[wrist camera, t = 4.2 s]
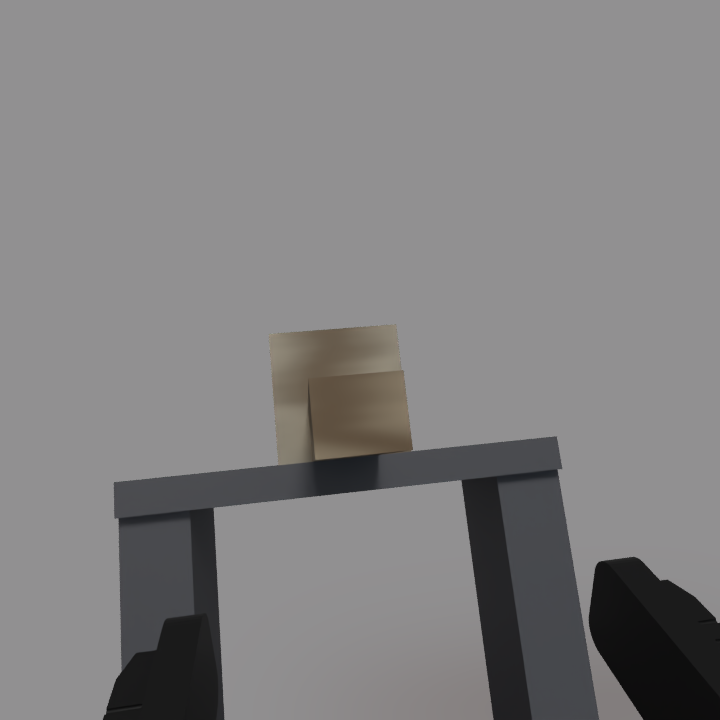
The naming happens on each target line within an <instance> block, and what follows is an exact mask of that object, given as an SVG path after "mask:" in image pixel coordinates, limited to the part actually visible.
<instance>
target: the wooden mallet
mask: <svg viewBox="0 0 720 720" xmlns="http://www.w3.org/2000/svg"><path fill="white" fill-rule="evenodd" d="M269 341H270V356H271V368H272V382H273V396H274V410H275V422H276V423H275V424H276V437H277V450H278V464H279V465H287V464H296V463H306V462H316V461H325V460H335V459H344V458H354V457H364V456H373V455H383V454H393V453H402V452H411V450H413V447H412V439H411V431H410V422H409V414H408V405H407V397H406V389H405V381H404V372H403V370H401V362H400V354H399V346H398V337H397V329H396V325H382V326H370V327H356V328H343V329H330V330H316V331H303V332H290V333H277V334H269Z"/></svg>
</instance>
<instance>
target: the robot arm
mask: <svg viewBox="0 0 720 720" xmlns="http://www.w3.org/2000/svg"><path fill="white" fill-rule="evenodd" d="M589 627H590V632H591V636H592V638H593V641H594V643H595V646H596V648H597V650H598V651H599V653H600V655H601V656H602V657H603V659H604V661H605V662H606V663H607V665H608V666H609V668H610V670H611V671H612V673H613V674H614V676H615V677H616V679H617V680H618V682H619V683H620V685H621V686H622V688H623V689H624V691H625V692H626V694H627V695H628V697H629V698H630V700H631V701H632V703H633V704H634V706H635V707H636V709H637V711H638V712H639V714H640V715H641V717H642V718H643V720H720V623H717V621H716V618H715V617H714V616H713V615H712V614H711V613H710V612H709V611H708V610H707V609H706V608H705V607H704V606H703V605H702V604H701V603H700V602H699V601H698V600H697V599H696V598H695V597H694V596H693V595H691V594H689V593H688V592H686V591H685V590H683V589H682V588H680V587H678V586H677V585H675V584H674V583H672V582H670V581H669V580H662V581H660V580H659V579H658V578H657V577H656V576H655V575H654V574H653V572H652V571H651V570H650V569H649V568H648V567H647V566H646V565H645V564H644V563H643V562H642V561H641V560H640V559H638V558H636V557H629V558H622V559H615V560H607V561H601V562H599V563H598V564H597V565H596V568H595V574H594V581H593V589H592V597H591V605H590V612H589ZM217 708H218V674H217V667H216V661H215V655H214V650H213V644H212V638H211V632H210V626H209V621H208V617H207V614H206V613H203V614H195V615H188V616H180V617H173V618H167V619H166V620H165V621H164V623H163V627H162V630H161V634H160V638H159V642H158V646H157V649H156V650H153V651H146V652H139V653H135V655H134V656H133V657H132V659H131V660H130V661H129V663H128V664H127V665H126V667H125V668H124V669H123V671H122V672H121V674H120V675H119V676H118V678H117V679H116V682H115V684H114V688H113V690H112V694H111V697H110V699H109V703H108V706H107V712H106V715H104V718H103V720H216V717H217Z"/></svg>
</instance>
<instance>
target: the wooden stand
mask: <svg viewBox="0 0 720 720" xmlns="http://www.w3.org/2000/svg"><path fill="white" fill-rule="evenodd" d="M557 469H562V465H561V459H560V453H559V447H558V441H557V437H546V438H537V439H527V440H519V441H508V442H498V443H489V444H479V445H470V446H460V447H450V448H441V449H431V450H421V451H412V452H402V453H393V454H383V455H373V456H364V457H354V458H344V459H335V460H325V461H316V462H306V463H296V464H287V465H277V466H267V467H258V468H248V469H239V470H229V471H219V472H210V473H201V474H191V475H182V476H171V477H162V478H152V479H142V480H133V481H123V482H114V514H115V518H119V560H120V607H121V609H120V610H121V656H122V658H121V659H122V671H123V669H124V668H125V667H126V665H127V664H128V663H129V661H130V660H131V659H132V657H133V656H134V655H135V653H139V652H146V651H153V650H156V649H157V646H158V642H159V638H160V634H161V630H162V627H163V623H164V621H165V620H166V619H167V618H173V617H180V616H188V615H195V614H203V613H206V614H207V617H208V621H209V626H210V632H211V638H212V644H213V650H214V655H215V661H216V667H217V674H218V708H217V717H216V720H224V704H223V684H222V665H221V647H220V646H221V645H220V627H219V607H218V587H217V568H216V550H215V529H214V511H213V508H214V507H223V506H232V505H241V504H250V503H258V502H267V501H277V500H286V499H295V498H303V497H313V496H321V495H331V494H340V493H349V492H357V491H367V490H376V489H384V488H394V487H402V486H412V485H420V484H429V483H438V482H448V481H457V480H462V487H463V494H464V502H465V509H466V516H467V524H468V532H469V539H470V546H471V554H472V562H473V569H474V577H475V584H476V591H477V599H478V606H479V614H480V621H481V629H482V636H483V644H484V651H485V659H486V666H487V673H488V681H489V688H490V696H491V703H492V711H493V718H494V720H599V717H598V711H597V705H596V699H595V693H594V687H593V681H592V675H591V669H590V663H589V657H588V651H587V645H586V639H585V632H584V626H583V621H582V614H581V608H580V603H579V596H578V590H577V585H576V578H575V573H574V567H573V560H572V555H571V548H570V543H569V536H568V531H567V524H566V518H565V512H564V507H563V501H562V495H561V489H560V483H559V476H558V470H557Z"/></svg>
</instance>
